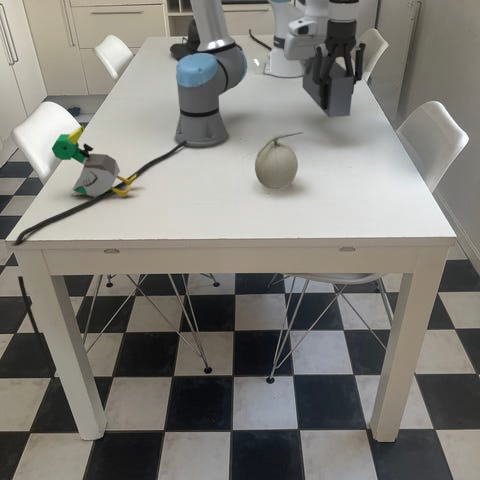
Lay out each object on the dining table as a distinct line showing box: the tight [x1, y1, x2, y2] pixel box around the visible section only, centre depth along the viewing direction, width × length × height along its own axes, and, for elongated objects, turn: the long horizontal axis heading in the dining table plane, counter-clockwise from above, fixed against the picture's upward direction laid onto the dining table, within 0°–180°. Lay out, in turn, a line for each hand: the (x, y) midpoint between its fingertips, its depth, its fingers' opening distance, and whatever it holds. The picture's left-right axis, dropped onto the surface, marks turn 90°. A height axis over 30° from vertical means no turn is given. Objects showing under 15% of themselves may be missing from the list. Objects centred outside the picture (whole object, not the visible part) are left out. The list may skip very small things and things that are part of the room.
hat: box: [169, 18, 242, 60], centre depth 228 cm, size 32×35×14 cm
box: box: [301, 56, 354, 118], centre depth 149 cm, size 26×6×11 cm, turn 11°
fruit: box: [254, 131, 304, 191], centre depth 125 cm, size 10×12×15 cm
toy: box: [51, 125, 137, 198], centre depth 126 cm, size 6×17×20 cm
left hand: (334, 106), depth 144 cm, fingers closed on box, 6 cm apart
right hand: (316, 73), depth 156 cm, fingers closed on box, 6 cm apart
